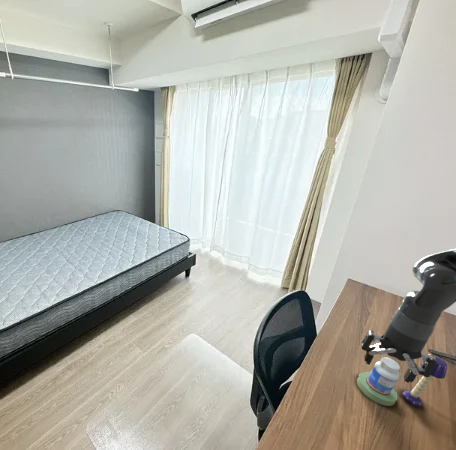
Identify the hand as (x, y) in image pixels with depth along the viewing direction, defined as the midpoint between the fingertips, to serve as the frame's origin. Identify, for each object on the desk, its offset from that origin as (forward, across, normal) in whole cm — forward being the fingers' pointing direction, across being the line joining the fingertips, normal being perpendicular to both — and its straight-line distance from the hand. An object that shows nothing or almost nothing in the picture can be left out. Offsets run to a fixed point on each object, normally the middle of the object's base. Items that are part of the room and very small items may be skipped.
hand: (386, 370), depth 71 cm
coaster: (+8, 0, 0) cm, 8 cm away
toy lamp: (+9, +8, +3) cm, 12 cm away
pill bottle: (+7, 0, 0) cm, 7 cm away
